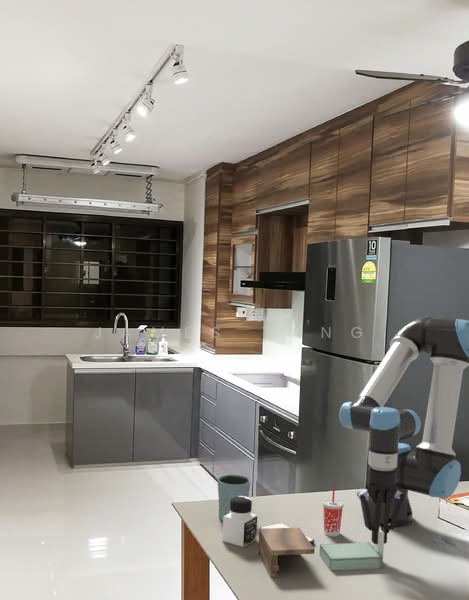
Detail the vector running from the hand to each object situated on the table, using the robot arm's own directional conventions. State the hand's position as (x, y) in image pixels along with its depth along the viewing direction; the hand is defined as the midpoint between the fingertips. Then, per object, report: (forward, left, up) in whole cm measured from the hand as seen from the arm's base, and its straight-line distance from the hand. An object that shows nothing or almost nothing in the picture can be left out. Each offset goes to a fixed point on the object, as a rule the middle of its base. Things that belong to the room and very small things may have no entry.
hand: (378, 555), depth 174 cm
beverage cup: (+6, -19, -2) cm, 20 cm away
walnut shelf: (+25, 0, -2) cm, 25 cm away
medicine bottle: (+34, -16, -2) cm, 38 cm away
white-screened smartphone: (+21, -17, -2) cm, 27 cm away
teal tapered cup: (+33, -33, -2) cm, 47 cm away
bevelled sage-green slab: (+8, 0, -2) cm, 8 cm away
